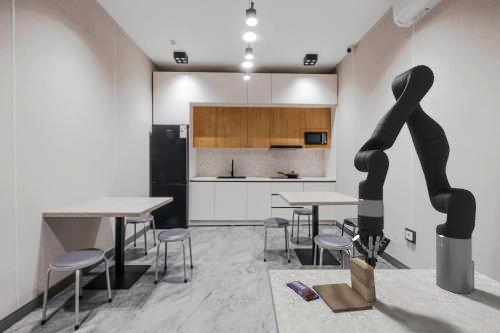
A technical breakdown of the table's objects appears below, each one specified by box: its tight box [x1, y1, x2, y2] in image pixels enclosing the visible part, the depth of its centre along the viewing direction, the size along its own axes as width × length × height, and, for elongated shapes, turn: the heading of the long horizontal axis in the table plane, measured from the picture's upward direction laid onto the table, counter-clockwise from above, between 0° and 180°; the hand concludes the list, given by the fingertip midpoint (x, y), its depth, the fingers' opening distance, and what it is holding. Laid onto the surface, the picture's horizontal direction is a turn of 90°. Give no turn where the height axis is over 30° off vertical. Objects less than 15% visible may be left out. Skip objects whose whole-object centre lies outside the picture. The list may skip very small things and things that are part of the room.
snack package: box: [285, 280, 320, 301], centre depth 79 cm, size 12×2×5 cm
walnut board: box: [311, 282, 373, 313], centre depth 75 cm, size 12×14×1 cm
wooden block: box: [348, 257, 377, 303], centre depth 76 cm, size 3×8×10 cm, turn 9°
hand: (370, 268), depth 77 cm, fingers closed
